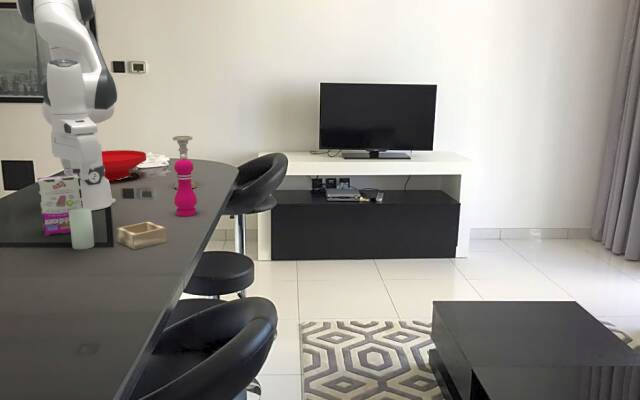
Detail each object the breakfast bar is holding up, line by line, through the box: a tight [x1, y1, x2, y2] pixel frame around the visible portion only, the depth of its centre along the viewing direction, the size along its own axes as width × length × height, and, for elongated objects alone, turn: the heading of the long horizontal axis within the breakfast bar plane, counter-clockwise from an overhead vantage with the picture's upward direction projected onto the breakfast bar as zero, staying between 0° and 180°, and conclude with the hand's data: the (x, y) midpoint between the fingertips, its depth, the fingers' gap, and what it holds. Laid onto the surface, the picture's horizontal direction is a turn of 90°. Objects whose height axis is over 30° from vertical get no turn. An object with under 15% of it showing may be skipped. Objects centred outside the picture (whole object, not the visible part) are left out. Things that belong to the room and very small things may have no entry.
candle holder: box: [172, 135, 197, 190], centre depth 218 cm, size 9×9×20 cm
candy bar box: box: [36, 175, 83, 237], centre depth 161 cm, size 11×5×16 cm, turn 117°
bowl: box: [102, 149, 147, 182], centre depth 235 cm, size 30×30×10 cm
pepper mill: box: [174, 154, 198, 217], centre depth 180 cm, size 7×7×20 cm
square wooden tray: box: [116, 220, 167, 250], centre depth 153 cm, size 10×10×4 cm
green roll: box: [69, 208, 95, 250], centre depth 149 cm, size 6×6×10 cm
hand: (76, 177), depth 145 cm, fingers open, 8 cm apart
